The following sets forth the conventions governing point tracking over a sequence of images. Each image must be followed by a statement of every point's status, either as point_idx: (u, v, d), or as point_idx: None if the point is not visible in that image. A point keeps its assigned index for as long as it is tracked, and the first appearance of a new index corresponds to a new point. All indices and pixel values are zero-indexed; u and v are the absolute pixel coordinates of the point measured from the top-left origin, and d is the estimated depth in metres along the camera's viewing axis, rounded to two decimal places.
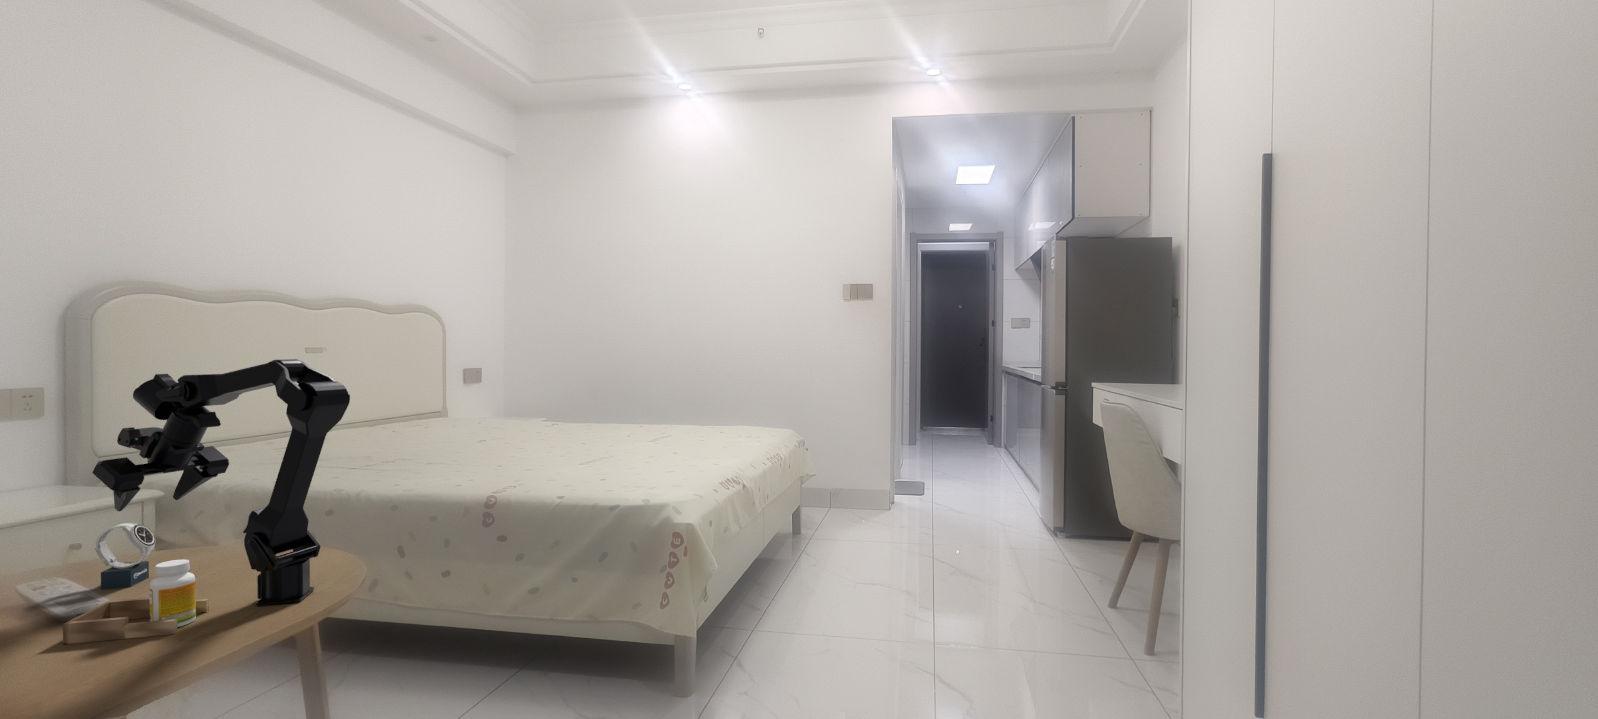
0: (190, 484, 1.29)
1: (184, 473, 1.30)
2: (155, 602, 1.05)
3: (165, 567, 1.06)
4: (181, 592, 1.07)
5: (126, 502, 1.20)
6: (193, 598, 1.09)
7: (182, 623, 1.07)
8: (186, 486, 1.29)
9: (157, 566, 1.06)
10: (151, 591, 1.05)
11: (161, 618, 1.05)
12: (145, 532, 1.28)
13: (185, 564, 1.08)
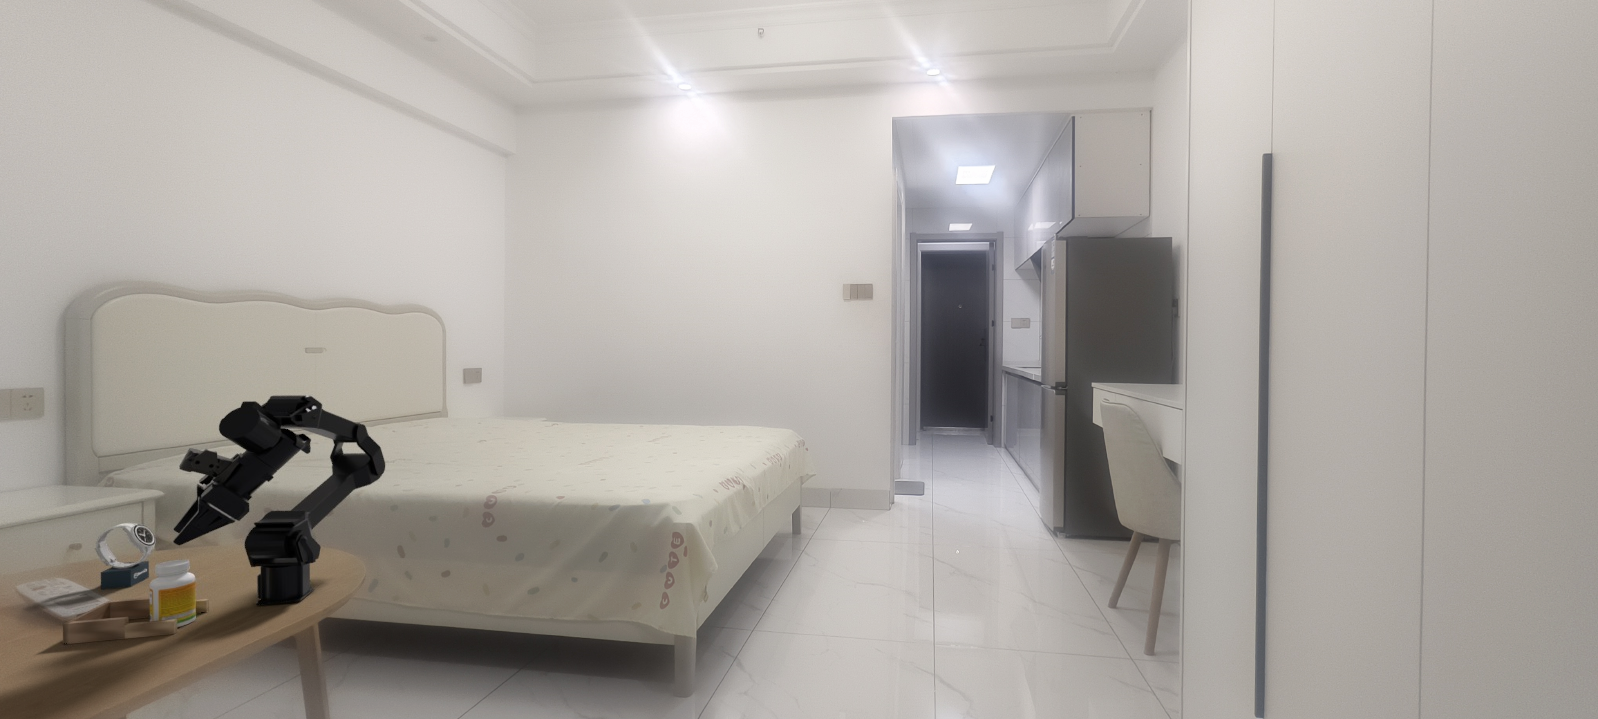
0: None
1: (198, 502, 1.14)
2: (155, 602, 1.05)
3: (165, 567, 1.06)
4: (181, 592, 1.07)
5: (203, 534, 1.07)
6: (193, 598, 1.09)
7: (182, 623, 1.07)
8: None
9: (157, 566, 1.06)
10: (151, 591, 1.05)
11: (161, 618, 1.05)
12: (145, 532, 1.28)
13: (185, 564, 1.08)
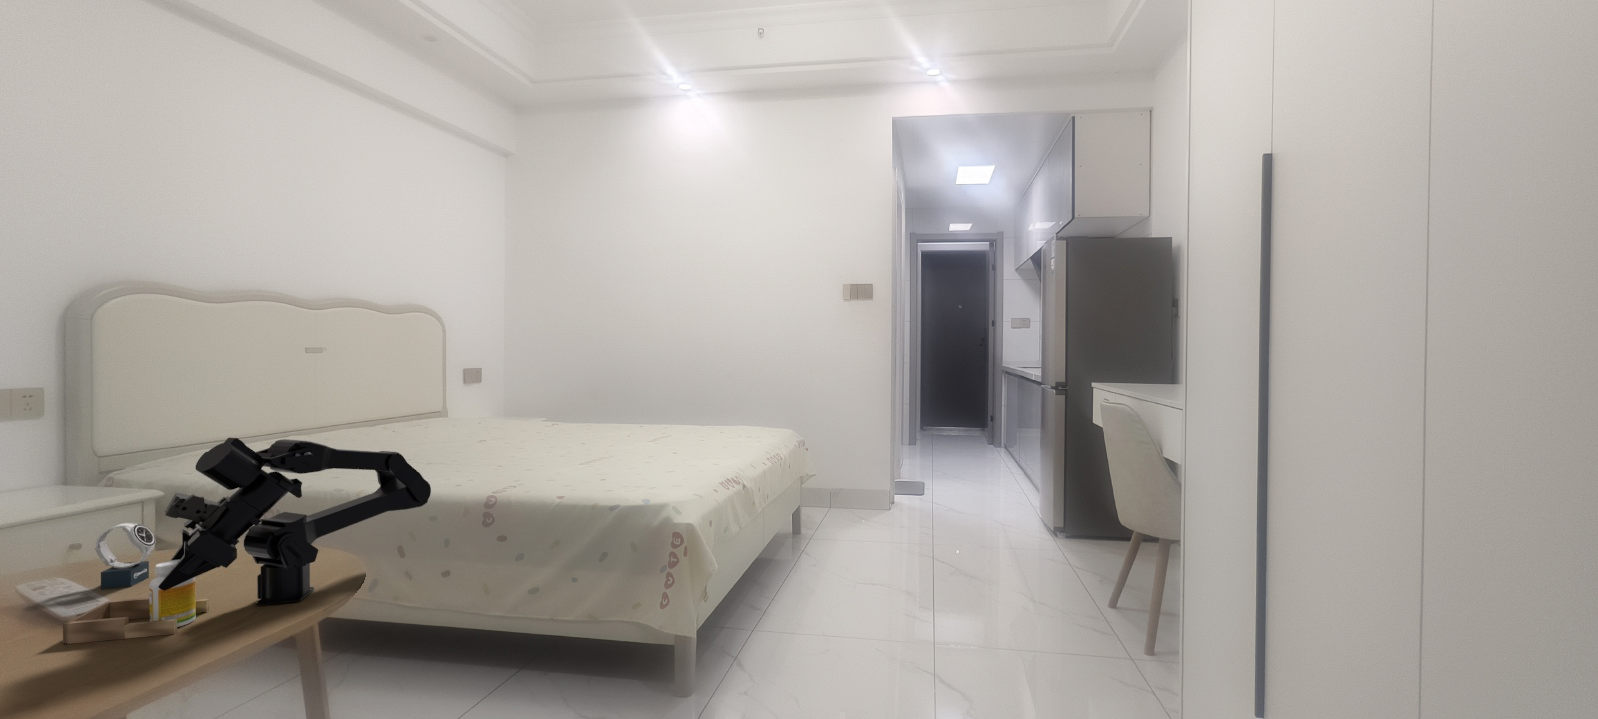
0: None
1: (183, 549, 1.11)
2: (155, 602, 1.05)
3: (165, 567, 1.06)
4: (181, 591, 1.07)
5: (188, 578, 1.07)
6: (193, 598, 1.09)
7: (182, 623, 1.07)
8: None
9: (157, 566, 1.06)
10: (151, 591, 1.05)
11: (161, 618, 1.05)
12: (145, 532, 1.28)
13: None
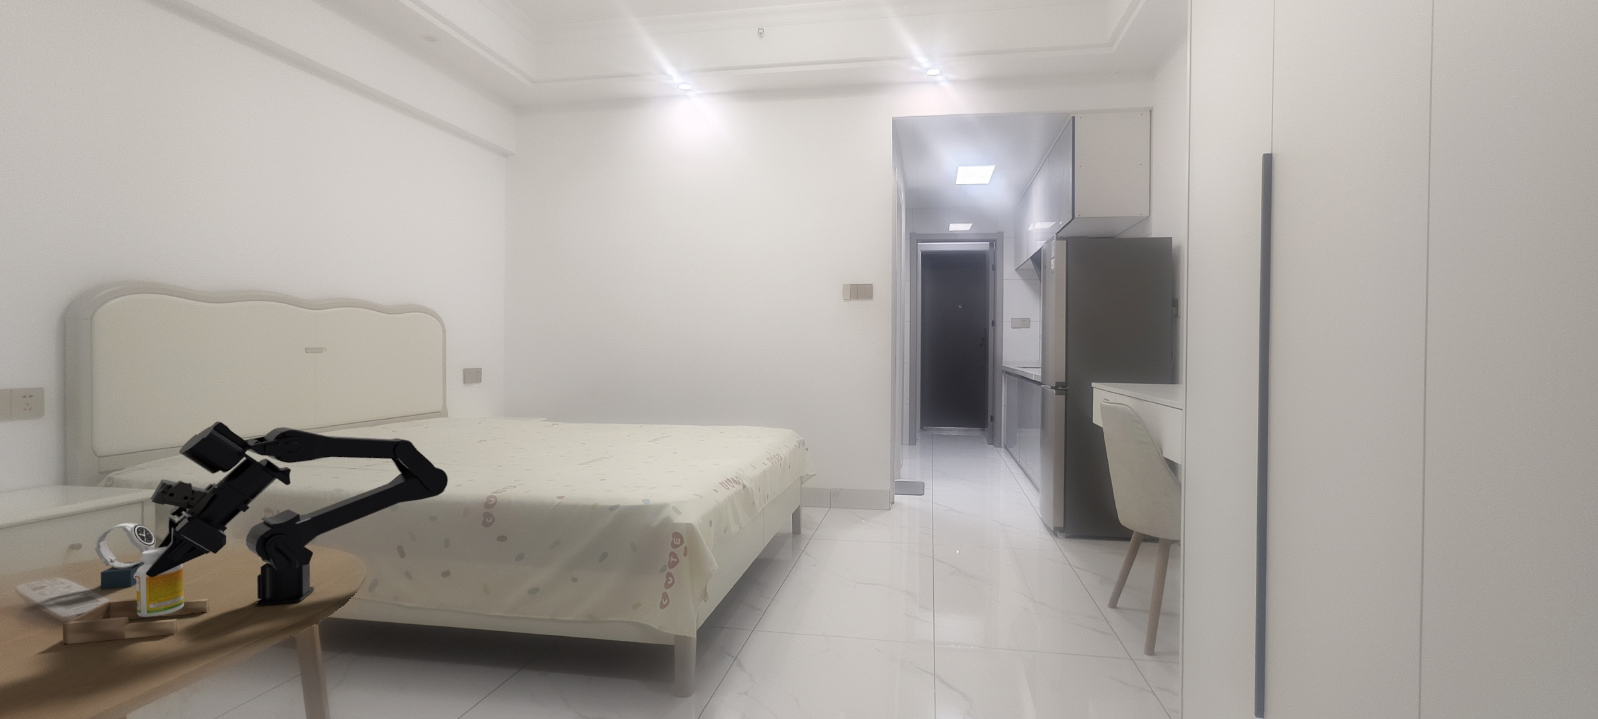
0: None
1: (170, 536, 1.10)
2: (143, 589, 1.04)
3: (152, 554, 1.05)
4: (168, 578, 1.06)
5: (176, 565, 1.06)
6: (181, 585, 1.08)
7: (170, 610, 1.06)
8: None
9: (144, 553, 1.05)
10: (138, 578, 1.05)
11: (149, 605, 1.05)
12: (145, 532, 1.28)
13: None
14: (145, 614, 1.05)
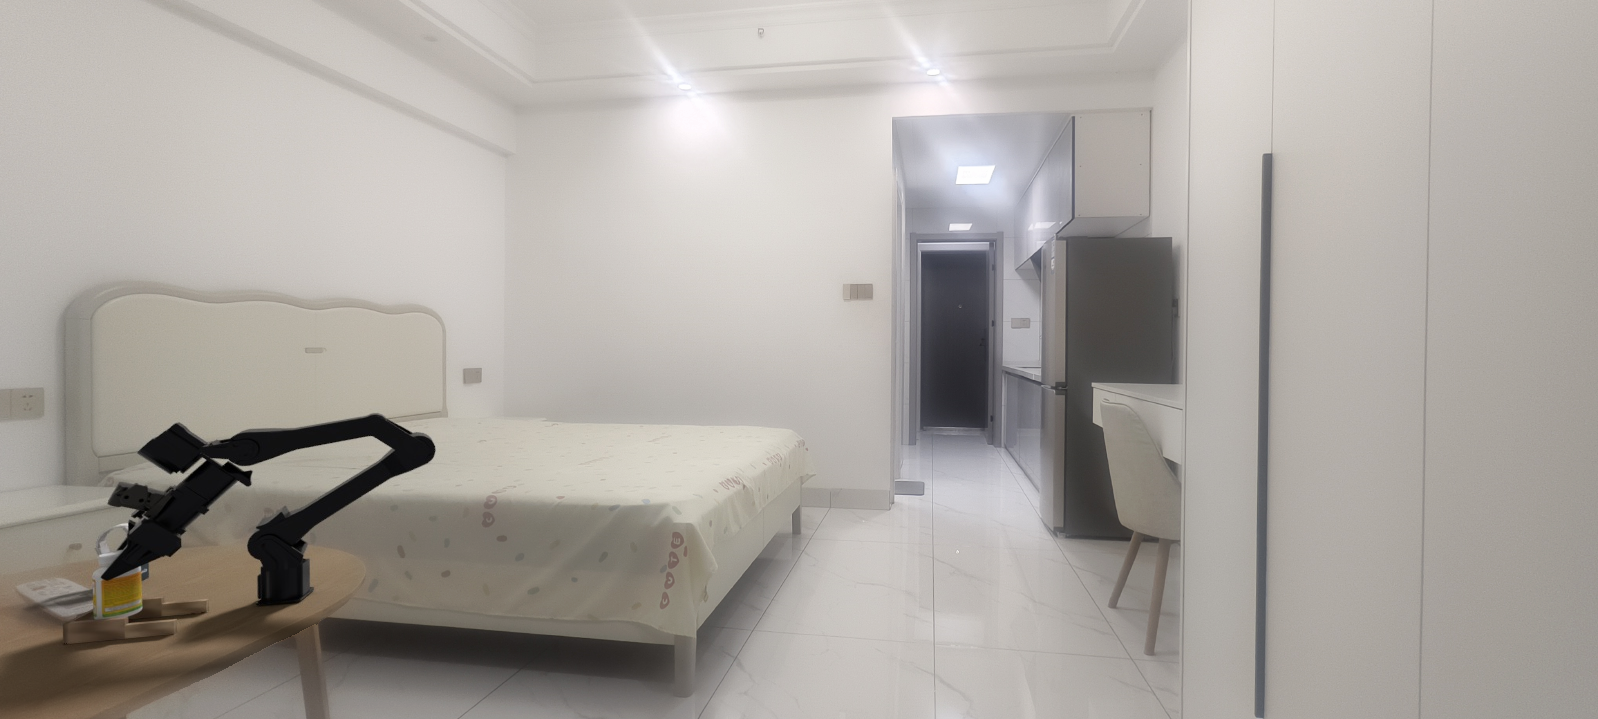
0: None
1: None
2: (98, 593, 1.03)
3: (108, 557, 1.04)
4: (125, 582, 1.05)
5: (132, 569, 1.05)
6: (138, 588, 1.07)
7: (127, 614, 1.05)
8: None
9: (100, 556, 1.04)
10: (94, 581, 1.03)
11: (104, 609, 1.03)
12: None
13: None
14: (100, 618, 1.03)
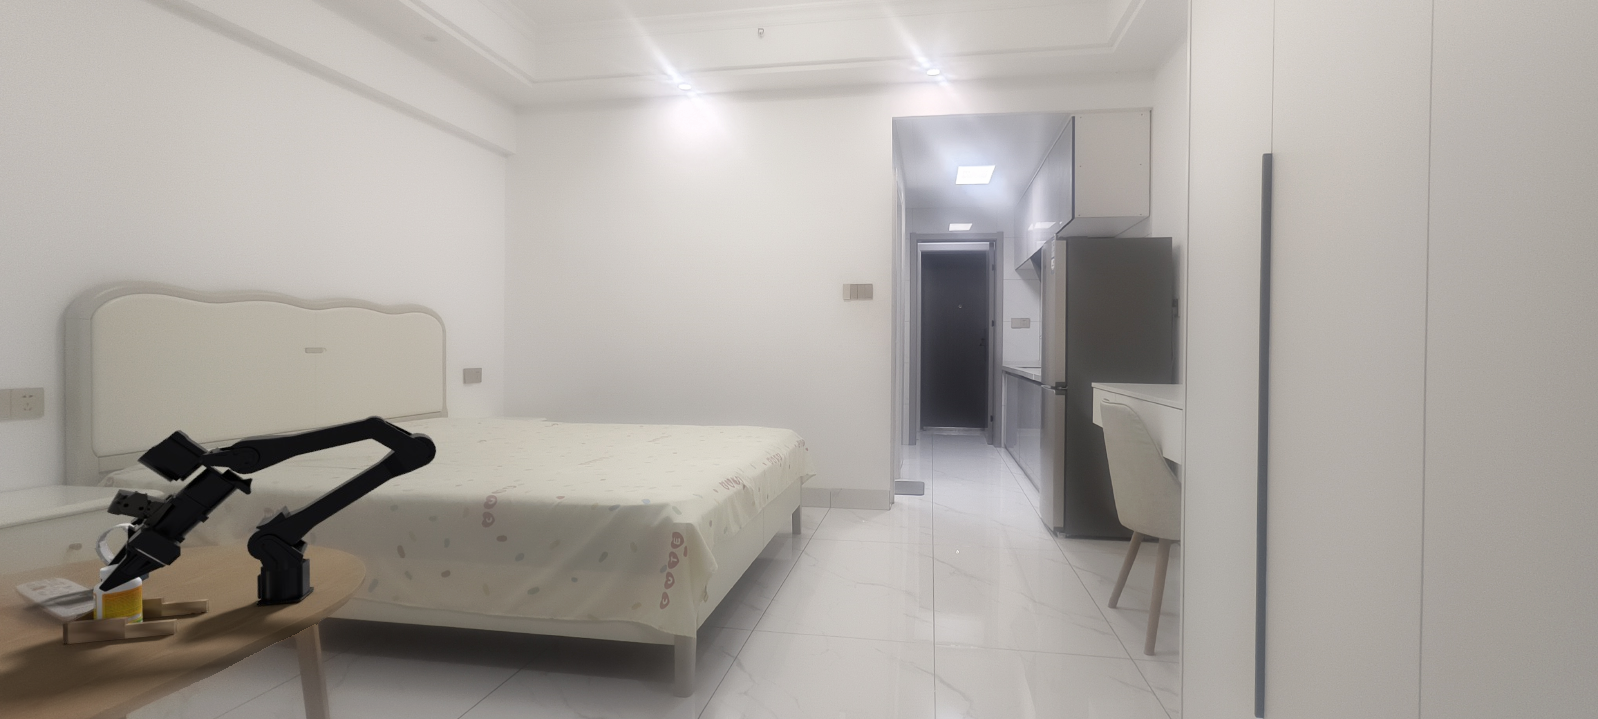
0: None
1: None
2: (99, 607, 1.03)
3: (109, 571, 1.04)
4: (126, 596, 1.05)
5: (131, 579, 1.03)
6: (139, 602, 1.07)
7: None
8: None
9: (101, 570, 1.04)
10: (95, 595, 1.03)
11: None
12: None
13: None
14: None
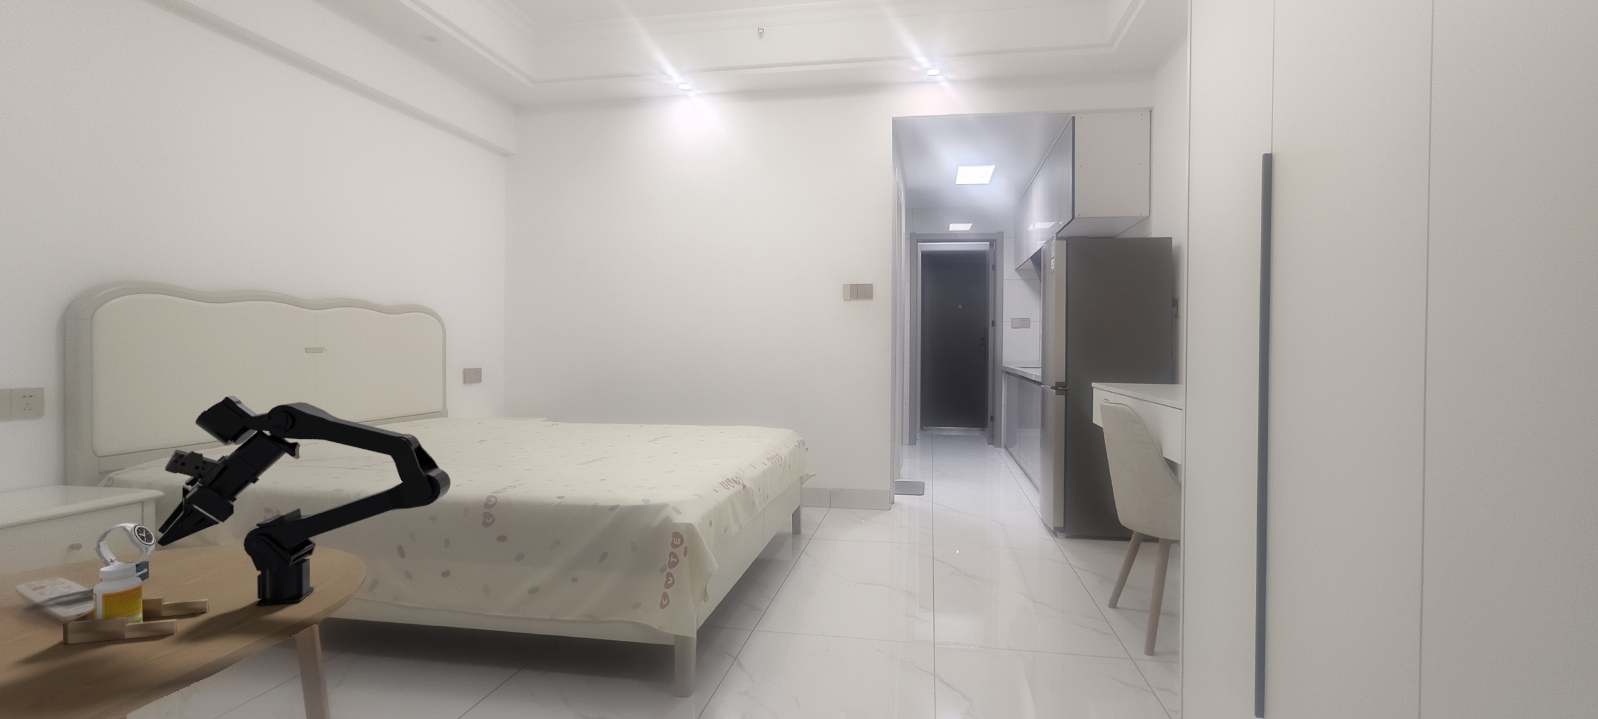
0: None
1: None
2: (99, 607, 1.03)
3: (109, 571, 1.04)
4: (126, 596, 1.05)
5: (187, 535, 1.08)
6: (139, 602, 1.07)
7: None
8: None
9: (101, 570, 1.04)
10: (95, 595, 1.03)
11: None
12: (145, 532, 1.28)
13: (131, 568, 1.06)
14: None
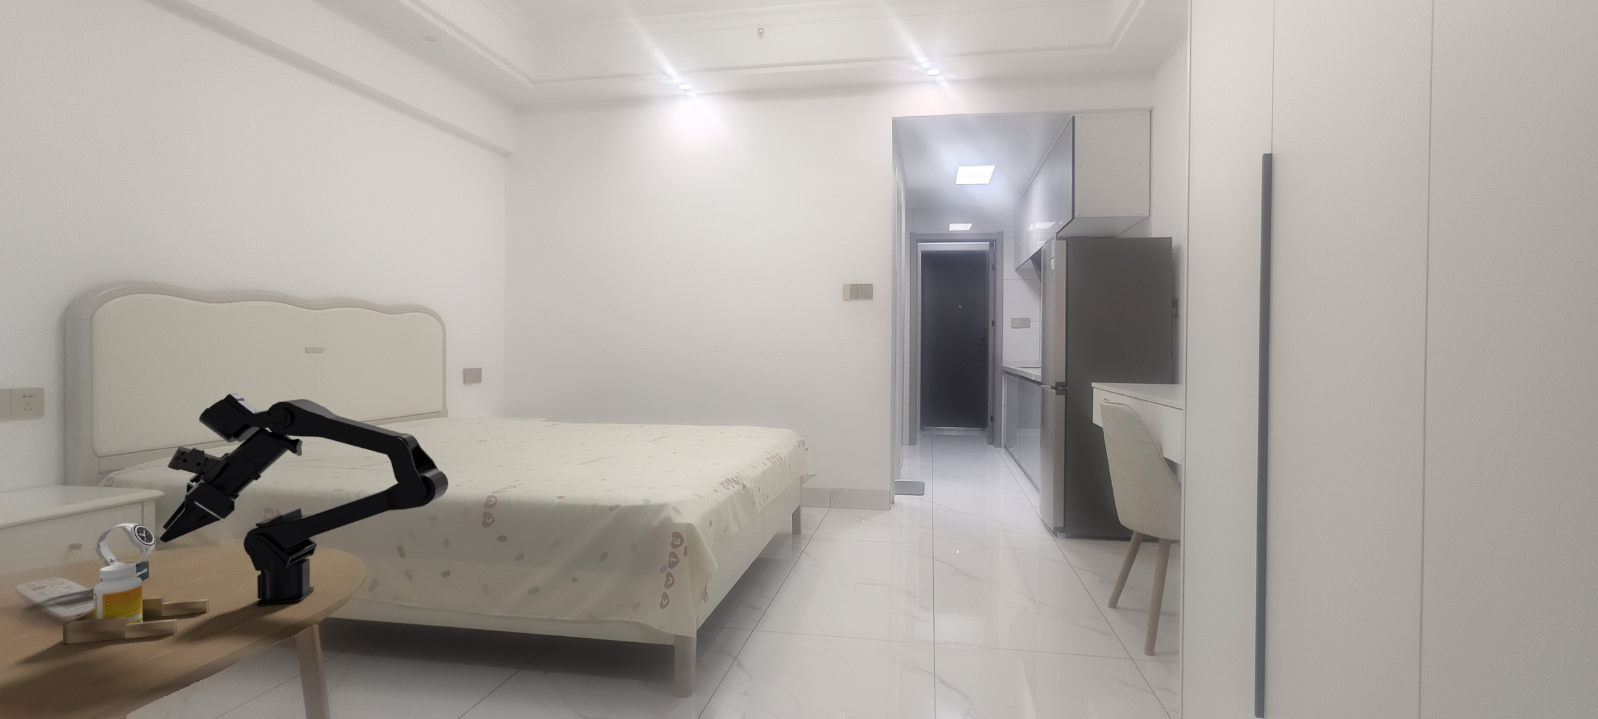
0: None
1: None
2: (99, 607, 1.03)
3: (110, 571, 1.04)
4: (126, 596, 1.05)
5: None
6: (139, 602, 1.07)
7: None
8: None
9: (101, 570, 1.04)
10: (95, 595, 1.03)
11: None
12: (145, 532, 1.28)
13: (131, 568, 1.06)
14: None
